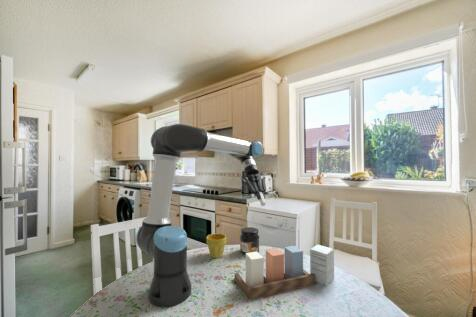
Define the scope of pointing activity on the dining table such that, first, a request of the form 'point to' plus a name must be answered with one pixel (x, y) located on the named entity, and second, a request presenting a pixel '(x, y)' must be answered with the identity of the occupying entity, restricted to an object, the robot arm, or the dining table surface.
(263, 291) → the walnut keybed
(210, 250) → the plant pot
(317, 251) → the supplement box
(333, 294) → the dining table surface
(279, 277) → the pink rectangular block
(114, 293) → the dining table surface
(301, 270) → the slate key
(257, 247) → the supplement container
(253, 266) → the ivory key
